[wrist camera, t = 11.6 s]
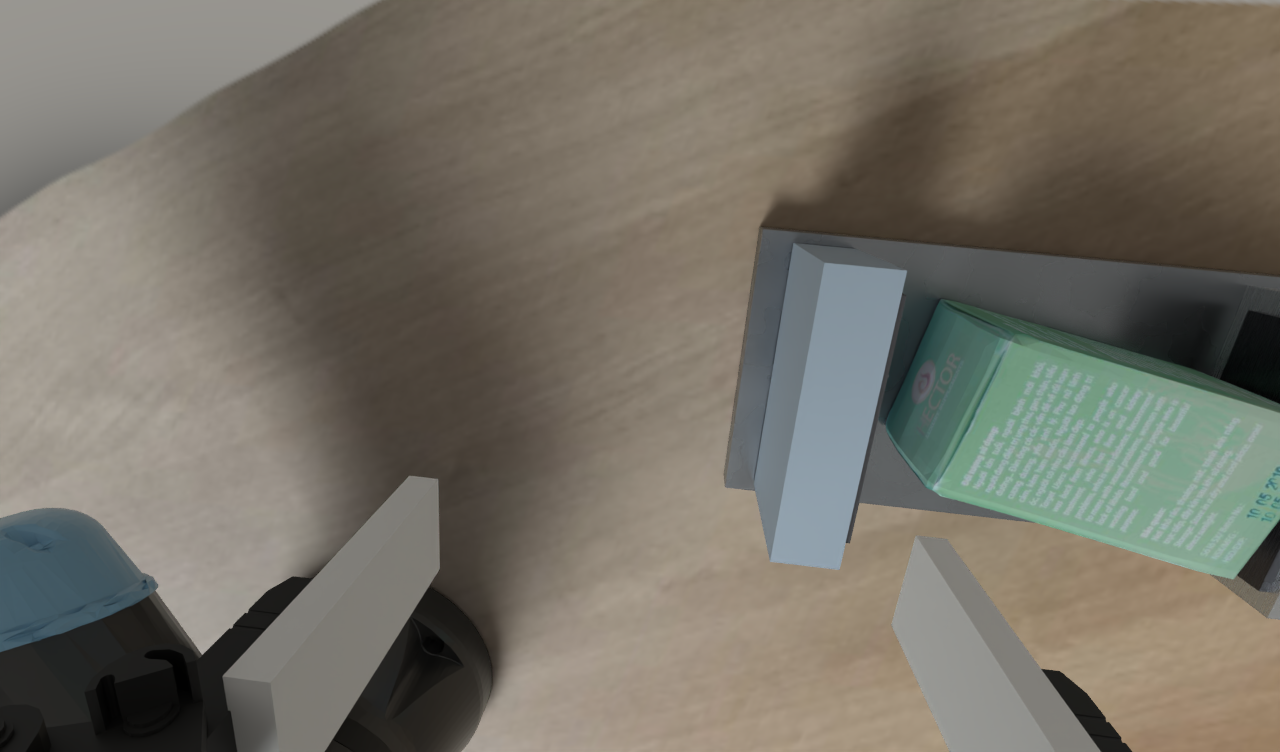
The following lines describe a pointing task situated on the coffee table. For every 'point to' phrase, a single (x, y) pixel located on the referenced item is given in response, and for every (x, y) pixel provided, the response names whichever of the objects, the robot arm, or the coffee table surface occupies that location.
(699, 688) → the coffee table surface
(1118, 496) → the box
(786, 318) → the block
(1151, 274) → the vise
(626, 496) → the coffee table surface
